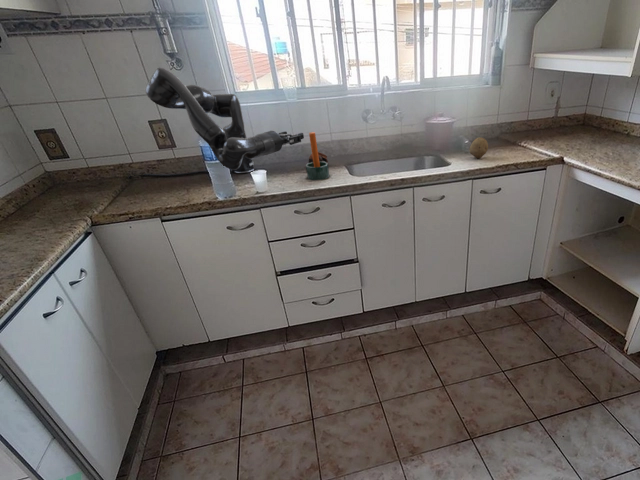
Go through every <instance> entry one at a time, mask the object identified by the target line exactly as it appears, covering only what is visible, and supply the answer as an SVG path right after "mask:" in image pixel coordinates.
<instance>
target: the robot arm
mask: <svg viewBox="0 0 640 480" xmlns="http://www.w3.org/2000/svg"><path fill="white" fill-rule="evenodd" d="M144 91H145V94H146V97H148V99H149V100H150V101H152V102H153V103H155V105H158V106H160V107H163V108H167V109H172V110H186V113H187V115H188V119H189V121H190V124H191V125H190V126H191V127H192V128H193V130H194V132H196V134H197V135H198V136H199V137H200V138H201V139H202V140H203V141H204V142H206V143H207V145H208V146H209V148H210V150H211V151H212V153H213V154H214V156H215V158H216V159H217V160H218V162H219V163H220V165H221V166H222V165H223V166H225V167H224V168H226V169H229V170H231V172H232V174H233V173H234V174H238V175H239V174H249V173H252V172H254V171H255V166H254V161H253V159H257V158H260V157H263V156H268V155H270V154H274V153H277V152H279V151H281V150H282V147H283V146H286V145H290V146H293V145H295V144H299V143H302V140H304V139H305V135H304V133H303V132H299V133H295V134H292V133H288V132H287V131H281V132H276V131H275V130H268V131H264V132H262V133H258V134H256V135H253V136H250V137H249V136H248V137H247V133H246V130H245V122H244V118H243V117H244V116H243V111H242V107H241V102H240V100H239V98H238V96H237V95H236V94H234V93H217V94H212V92H211V90H209V89H207V88H205V87H204V86H200V85H196V84H187V85H185V84H184V83H183V81H182V80H181V79H180V78H179V77H178V76H177V75H176V74H174V73H173V72H172V71H170V70H169V69H167V68H165V67H161V66H160V67H159V66H158V67H157V68H155V70H154V72H153V73H152V75H151V77H150V79H149V80H148V82H147V84H146V86H145V90H144ZM208 113H209V114H211V115H215V116H217V117H219V118H231V122H230V123H229V124H227V125H225V126H223V128H222V127H221V126H219V124H218V123H217V122H216V121H214V119H212V117H210V115H209V114H208ZM208 171H209V170H199V171H193V172H192V171H191V172H183V173H168V174H165V173H164V174H163V173H162V174H161V173H160V174H159V173H158V174H157V173H143V174H144V175H134V176H138V177H140V176H141V177H180V176H191V175H196V174H209V173H208ZM251 171H252V172H251ZM134 176H130V175H128V177H127V179H131V178H133V177H134Z"/></svg>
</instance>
